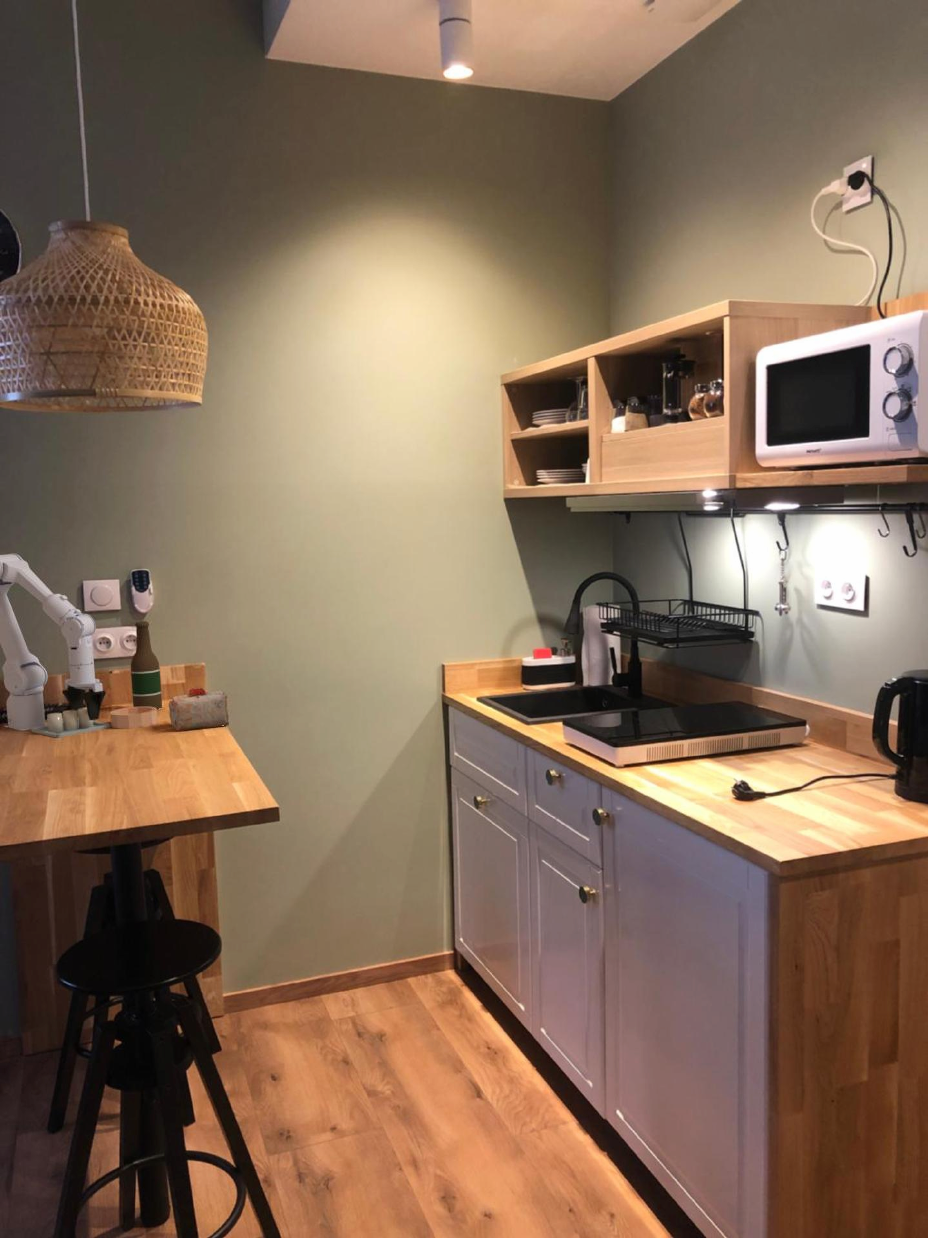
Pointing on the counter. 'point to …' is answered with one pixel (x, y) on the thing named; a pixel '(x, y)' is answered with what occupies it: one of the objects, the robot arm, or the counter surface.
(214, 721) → the weathered grey box
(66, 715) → the glossy cream rounded cylinder
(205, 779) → the counter surface
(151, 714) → the bowl
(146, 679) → the beer bottle
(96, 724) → the tray
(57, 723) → the white cylinder
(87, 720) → the cream white cylinder
